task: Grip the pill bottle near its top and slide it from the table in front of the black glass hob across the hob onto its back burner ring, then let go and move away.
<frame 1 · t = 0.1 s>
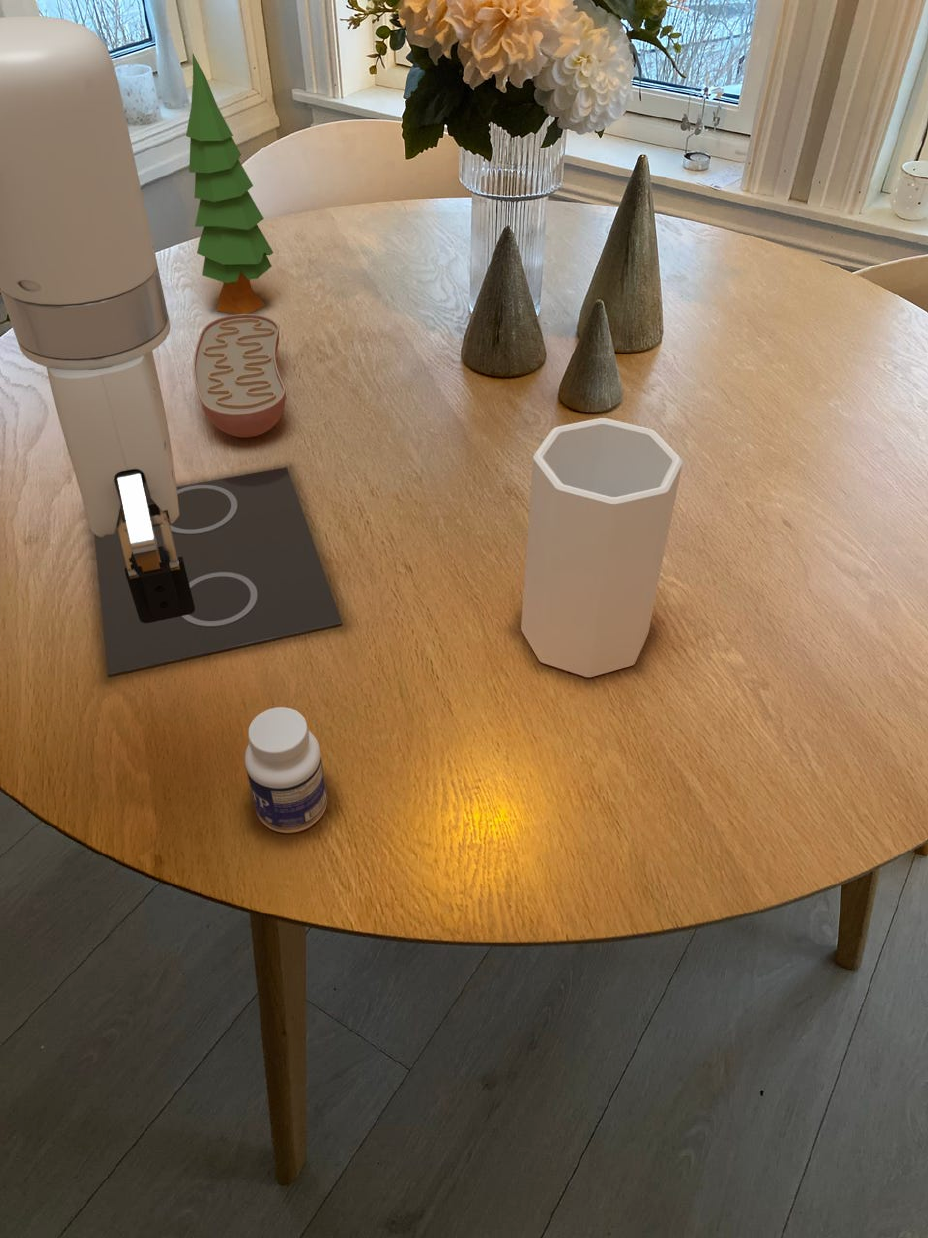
hand: (159, 564, 60), 20 cm above the table, tool pointing down, fingers open, 9 cm apart
decorative tree: (245, 306, 129), on the table
hob: (197, 511, 96), on the table
pill bottle: (292, 806, 71), on the table
cup: (583, 634, 85), on the table
anatomical model: (244, 400, 112), on the table
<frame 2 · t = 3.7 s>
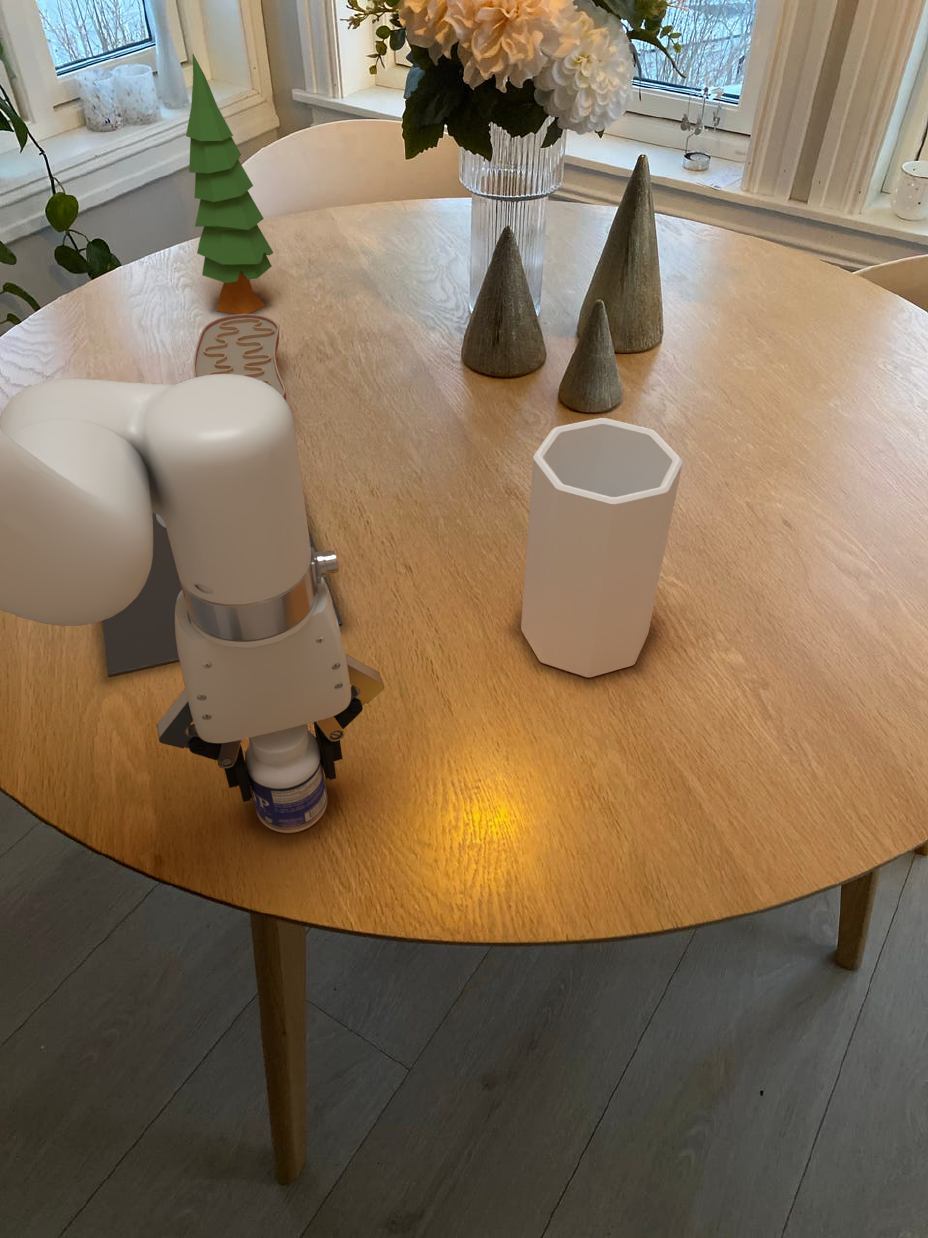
hand: (286, 773, 68), 4 cm above the table, tool pointing down, fingers closed on pill bottle, 5 cm apart
pill bottle: (292, 806, 71), on the table, touching gripper
everything else where it was.
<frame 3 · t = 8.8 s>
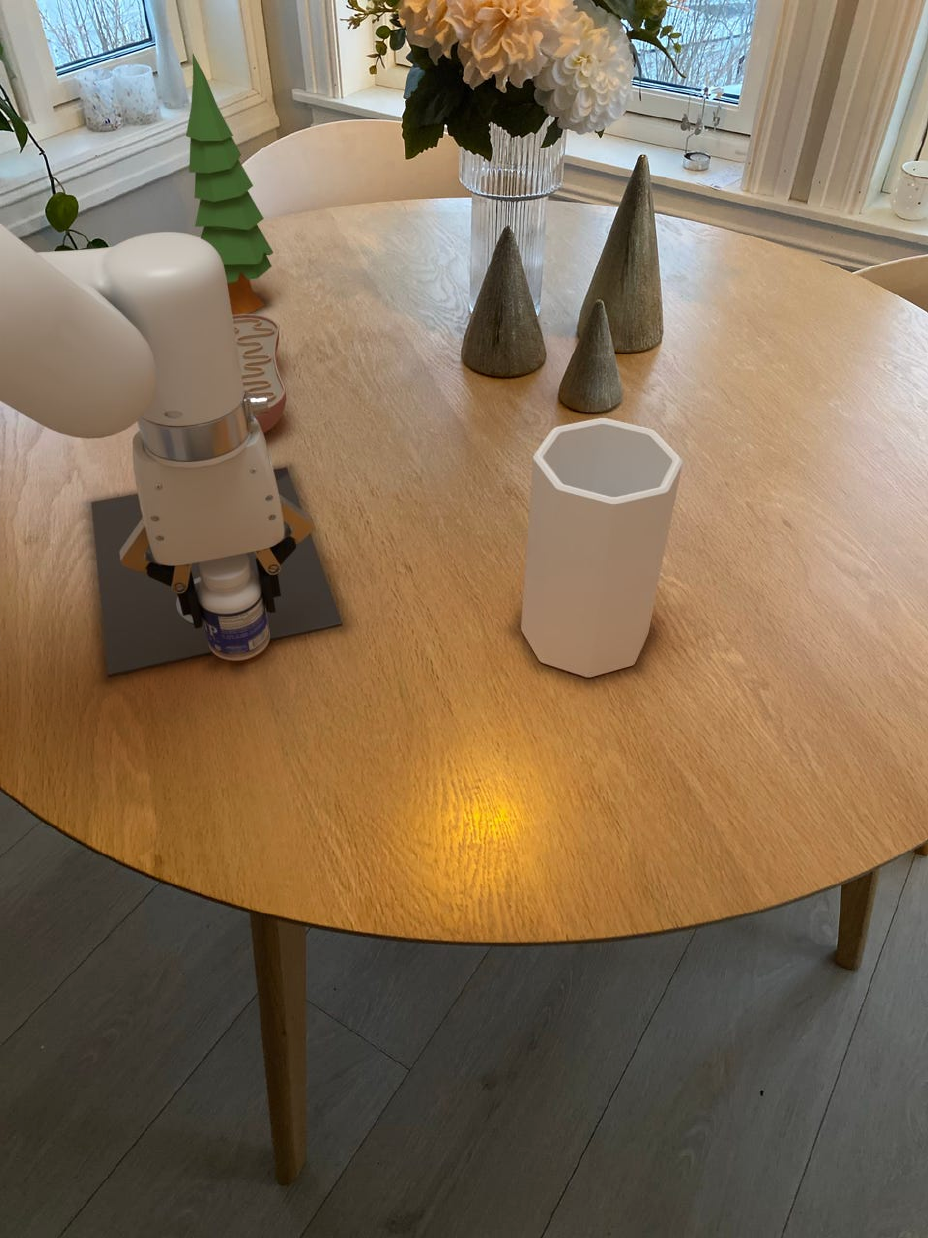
hand: (232, 607, 80), 4 cm above the table, tool pointing down, fingers closed on pill bottle, 5 cm apart
pill bottle: (240, 642, 82), resting on hob, touching gripper
everything else where it was.
when the fingers open (4 cm above the table, at t = 14.3 s): pill bottle stays where it is, resting on hob.
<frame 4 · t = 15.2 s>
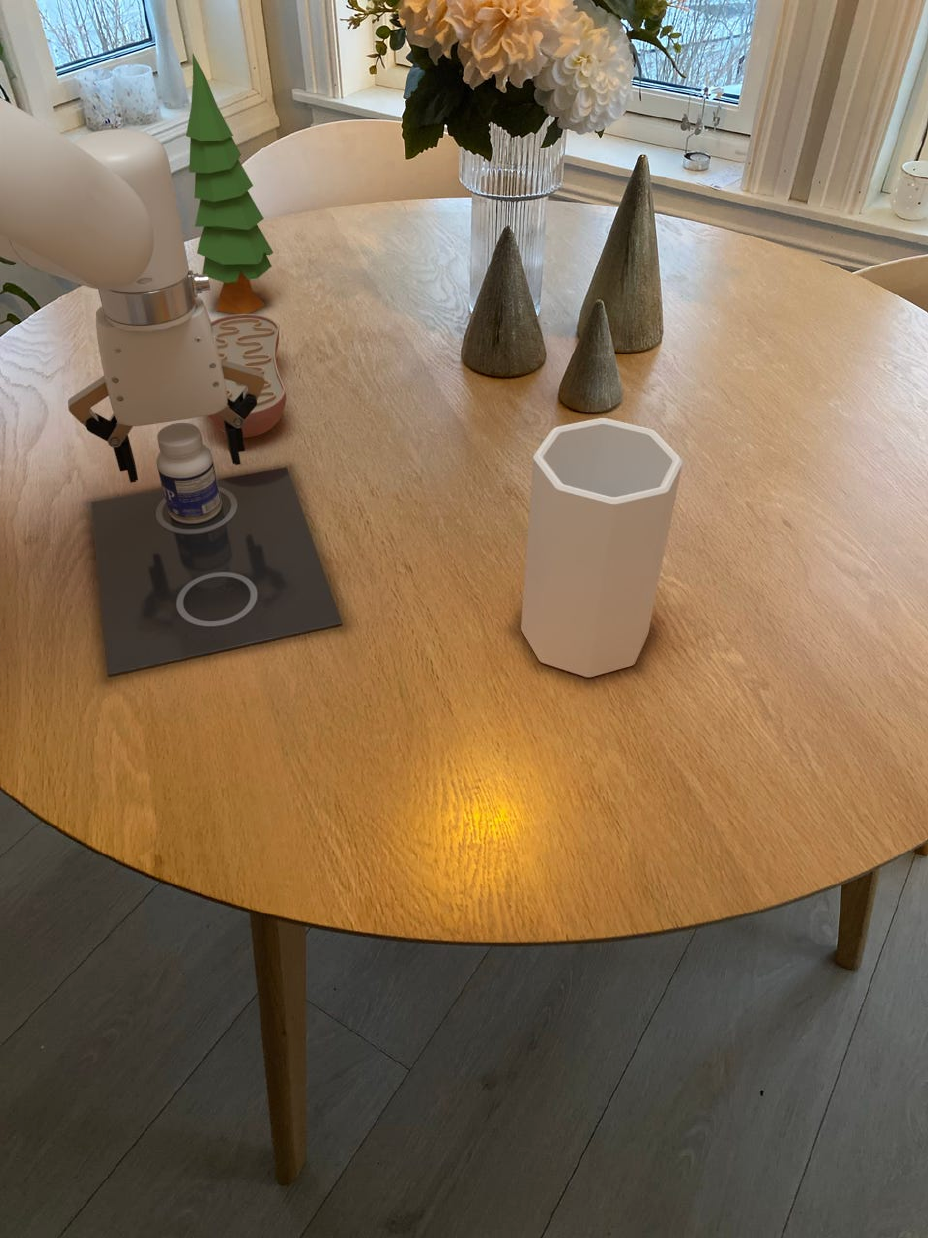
hand: (184, 465, 92), 6 cm above the table, tool pointing down, fingers open, 9 cm apart
pill bottle: (196, 510, 96), resting on hob
everything else where it was.
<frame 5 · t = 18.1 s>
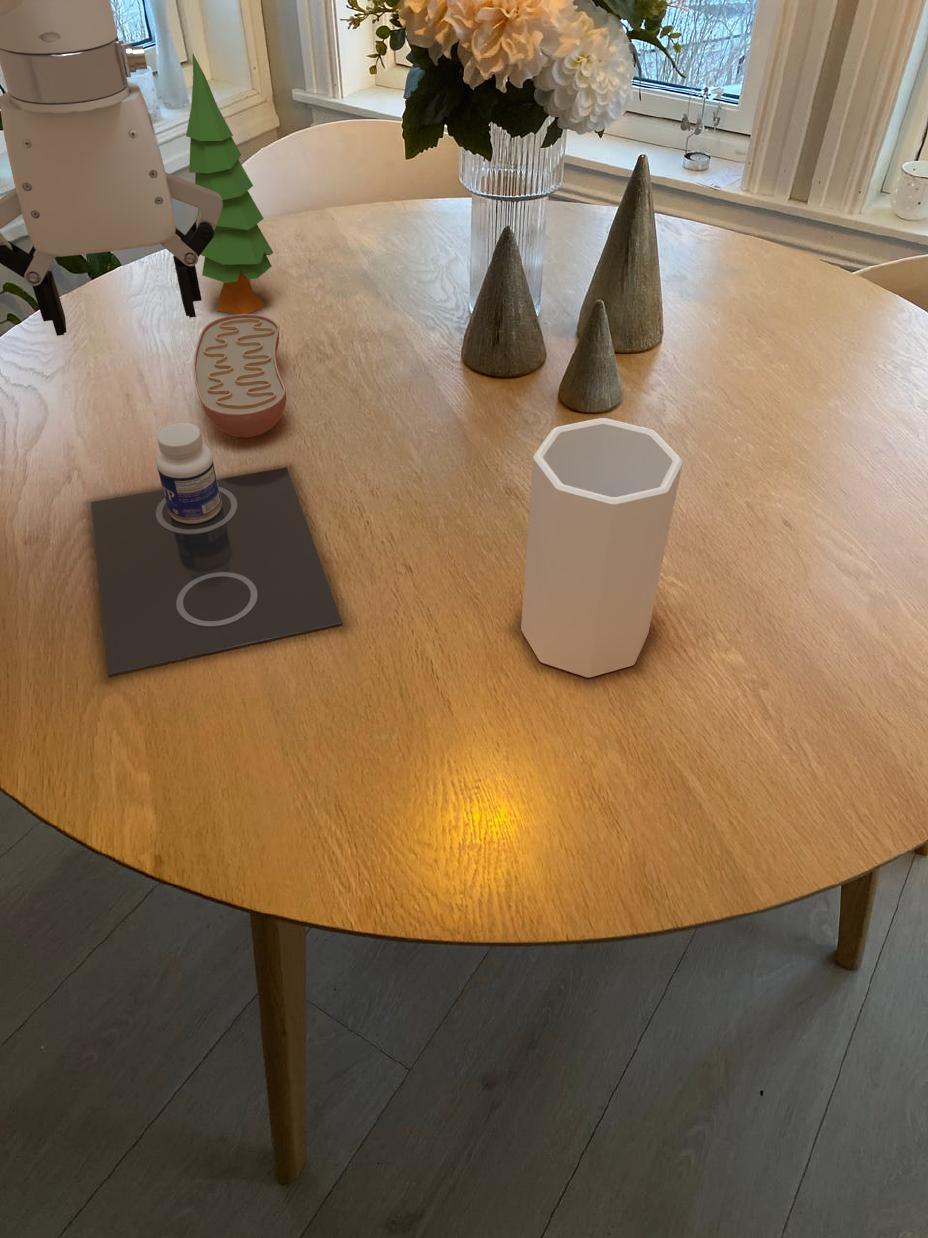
hand: (126, 318, 74), 24 cm above the table, tool pointing down, fingers open, 9 cm apart
nothing on the table moved.
at the end: pill bottle 0.1 cm off-centre on the hob, point 0.2 cm above the hob's base; pill bottle tilted 0°; the gripper is holding nothing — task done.
